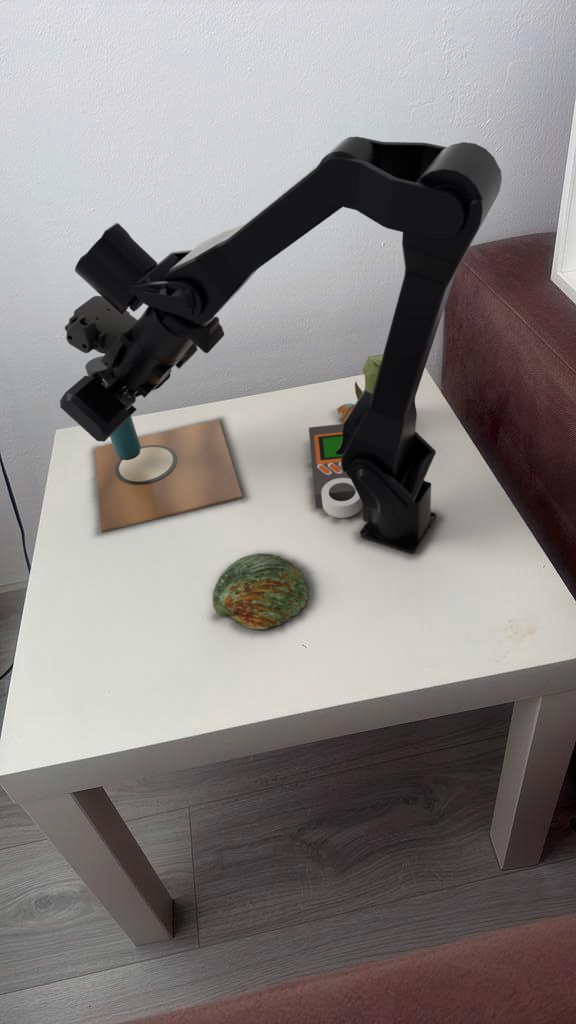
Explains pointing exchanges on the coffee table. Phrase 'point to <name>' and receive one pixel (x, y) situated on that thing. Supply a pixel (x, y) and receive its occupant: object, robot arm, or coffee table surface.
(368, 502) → the robot arm
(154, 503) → the brown square board
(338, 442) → the electronic device
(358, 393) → the dragon figurine
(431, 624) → the coffee table surface
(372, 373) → the green tall rounded piece
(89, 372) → the cylinder
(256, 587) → the seashell
